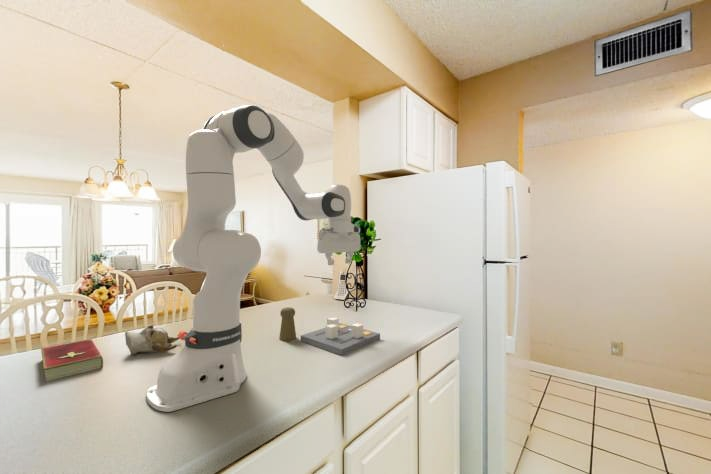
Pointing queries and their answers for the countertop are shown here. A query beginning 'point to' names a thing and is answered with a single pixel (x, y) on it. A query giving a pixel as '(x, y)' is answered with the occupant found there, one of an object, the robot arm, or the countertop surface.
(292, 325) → the cork
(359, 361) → the countertop surface
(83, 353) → the hardcover book
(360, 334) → the cream slider knob
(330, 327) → the switch middle
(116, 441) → the countertop surface
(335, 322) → the switch left
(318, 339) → the switch panel
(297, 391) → the countertop surface
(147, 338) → the ceramic sculpture
